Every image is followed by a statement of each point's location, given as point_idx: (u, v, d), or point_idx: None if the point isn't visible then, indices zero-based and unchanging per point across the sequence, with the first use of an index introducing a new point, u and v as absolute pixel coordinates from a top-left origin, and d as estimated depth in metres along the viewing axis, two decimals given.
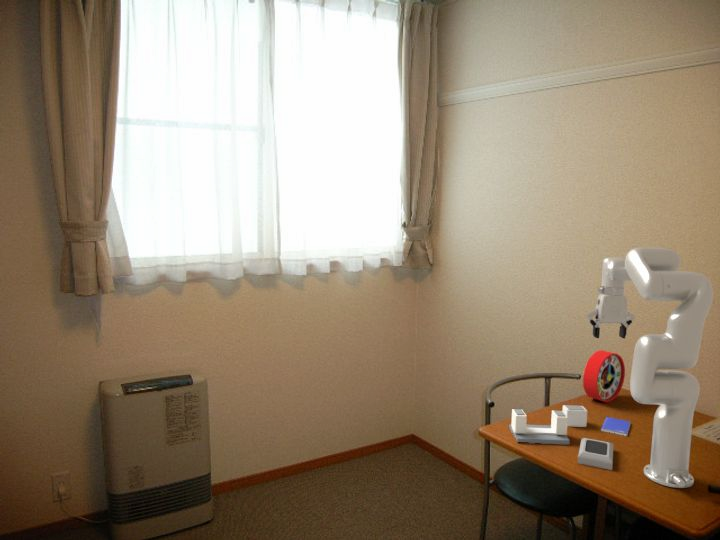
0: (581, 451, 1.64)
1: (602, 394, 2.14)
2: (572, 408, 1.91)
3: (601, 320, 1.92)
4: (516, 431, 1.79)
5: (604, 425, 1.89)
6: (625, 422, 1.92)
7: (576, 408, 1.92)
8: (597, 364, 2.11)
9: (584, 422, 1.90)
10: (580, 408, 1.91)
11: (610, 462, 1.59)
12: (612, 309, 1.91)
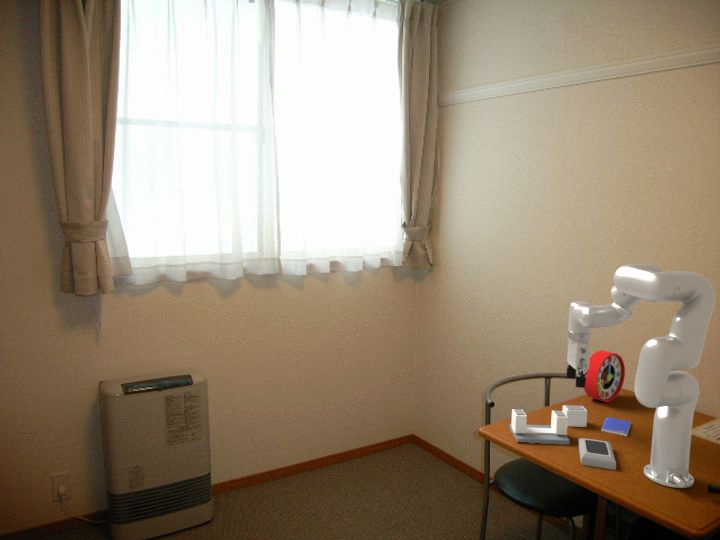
0: (583, 452, 1.64)
1: (602, 394, 2.14)
2: (572, 408, 1.91)
3: (588, 368, 1.86)
4: (516, 431, 1.79)
5: (604, 425, 1.89)
6: (625, 422, 1.92)
7: (576, 408, 1.92)
8: (597, 364, 2.11)
9: (584, 422, 1.90)
10: (580, 408, 1.91)
11: (613, 462, 1.59)
12: None
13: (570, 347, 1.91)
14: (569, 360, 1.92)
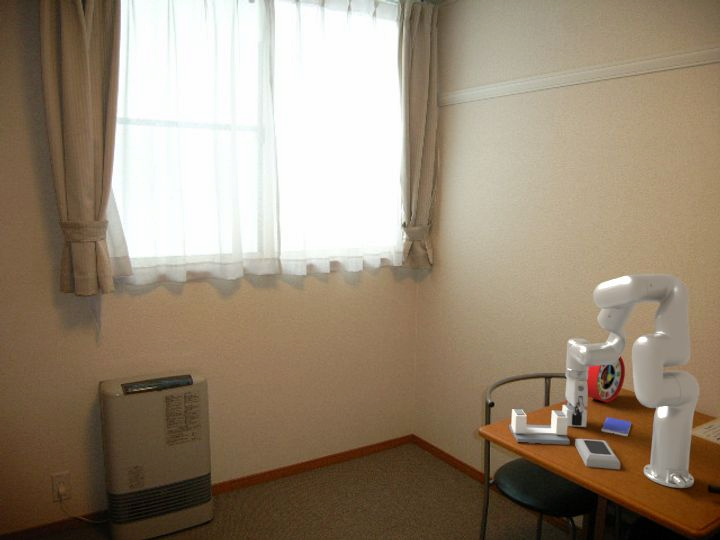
0: (587, 454, 1.63)
1: (602, 394, 2.14)
2: (572, 408, 1.91)
3: None
4: (516, 431, 1.79)
5: (604, 425, 1.89)
6: (626, 422, 1.92)
7: None
8: None
9: (584, 422, 1.90)
10: None
11: (618, 461, 1.59)
12: None
13: (568, 384, 1.92)
14: (567, 397, 1.93)
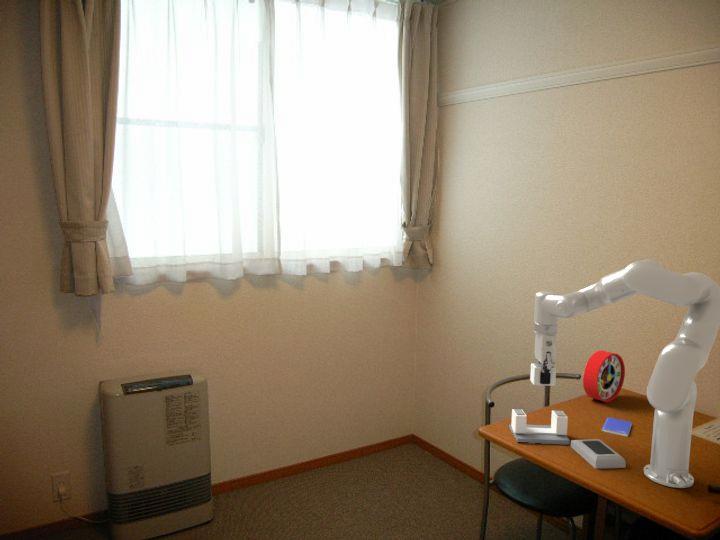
0: (593, 455, 1.62)
1: (602, 394, 2.14)
2: (540, 365, 1.79)
3: (555, 362, 1.75)
4: (516, 431, 1.79)
5: (605, 425, 1.89)
6: (626, 422, 1.92)
7: (545, 365, 1.79)
8: (597, 364, 2.11)
9: (553, 380, 1.77)
10: None
11: (623, 460, 1.60)
12: None
13: (536, 340, 1.79)
14: (536, 354, 1.81)
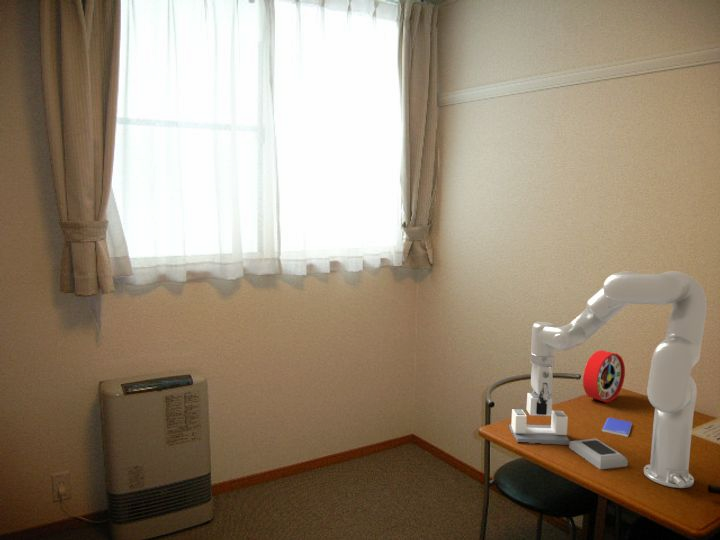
0: (597, 456, 1.61)
1: (602, 394, 2.14)
2: (536, 396, 1.79)
3: None
4: (516, 431, 1.79)
5: (605, 426, 1.89)
6: (626, 423, 1.92)
7: None
8: (597, 364, 2.11)
9: (549, 411, 1.78)
10: None
11: (625, 458, 1.61)
12: None
13: (533, 370, 1.80)
14: (532, 384, 1.81)
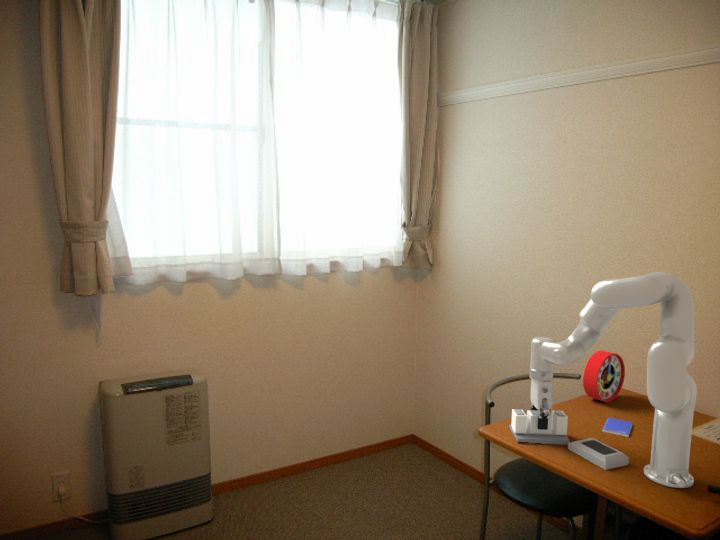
0: (601, 457, 1.61)
1: (602, 394, 2.14)
2: (536, 413, 1.80)
3: (551, 408, 1.76)
4: (516, 431, 1.79)
5: (605, 426, 1.89)
6: (627, 423, 1.92)
7: (541, 413, 1.80)
8: (597, 364, 2.11)
9: (549, 428, 1.79)
10: None
11: (626, 457, 1.62)
12: None
13: (532, 385, 1.81)
14: (532, 399, 1.82)
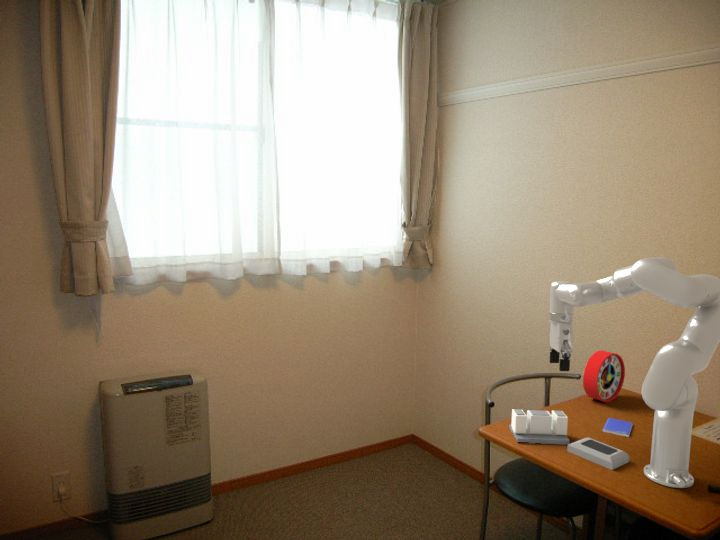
0: (606, 457, 1.61)
1: (602, 394, 2.14)
2: (536, 413, 1.80)
3: (572, 350, 1.77)
4: (516, 431, 1.79)
5: (606, 426, 1.89)
6: (627, 423, 1.91)
7: (541, 413, 1.80)
8: (597, 364, 2.11)
9: (549, 428, 1.79)
10: (545, 413, 1.80)
11: (627, 455, 1.64)
12: None
13: (552, 329, 1.82)
14: (552, 343, 1.83)
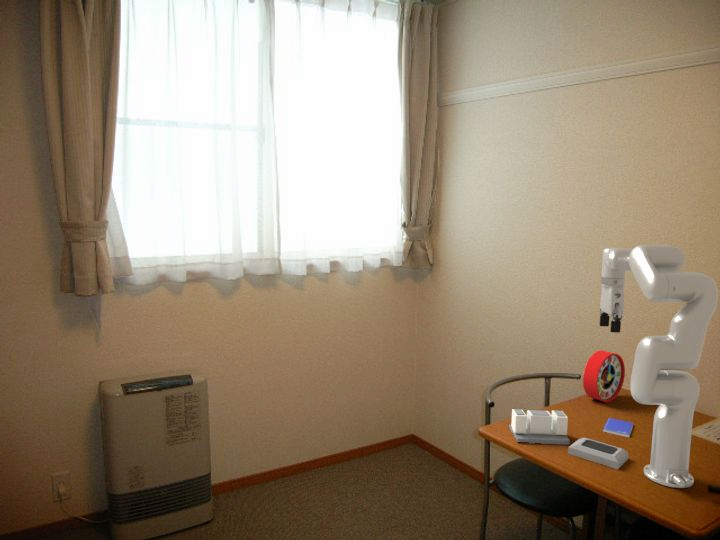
0: (610, 457, 1.61)
1: (602, 394, 2.14)
2: (536, 413, 1.80)
3: (623, 312, 1.87)
4: (516, 431, 1.79)
5: (606, 426, 1.88)
6: (628, 423, 1.91)
7: (541, 413, 1.80)
8: (597, 364, 2.11)
9: (549, 428, 1.79)
10: (545, 413, 1.80)
11: (626, 452, 1.66)
12: None
13: (604, 293, 1.92)
14: (603, 307, 1.93)
